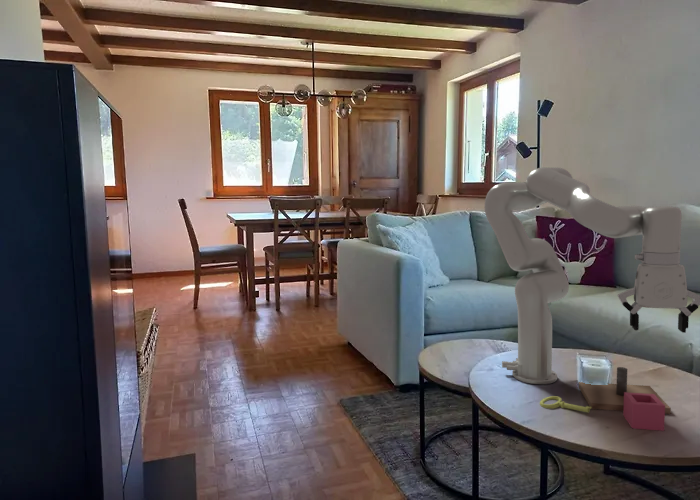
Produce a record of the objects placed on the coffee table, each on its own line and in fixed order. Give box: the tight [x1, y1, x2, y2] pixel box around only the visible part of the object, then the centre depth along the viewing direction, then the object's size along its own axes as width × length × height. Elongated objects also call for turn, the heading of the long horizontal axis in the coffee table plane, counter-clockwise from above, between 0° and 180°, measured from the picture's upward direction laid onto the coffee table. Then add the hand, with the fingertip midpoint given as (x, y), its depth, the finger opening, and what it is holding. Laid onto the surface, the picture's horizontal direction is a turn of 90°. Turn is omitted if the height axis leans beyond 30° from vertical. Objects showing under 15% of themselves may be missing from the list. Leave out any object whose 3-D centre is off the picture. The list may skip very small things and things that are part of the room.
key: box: [539, 395, 592, 414], centre depth 124 cm, size 7×12×2 cm, turn 61°
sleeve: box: [622, 392, 666, 432], centre depth 113 cm, size 7×7×6 cm
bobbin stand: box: [578, 366, 672, 415], centre depth 126 cm, size 18×14×8 cm
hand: (658, 330), depth 113 cm, fingers open, 9 cm apart
